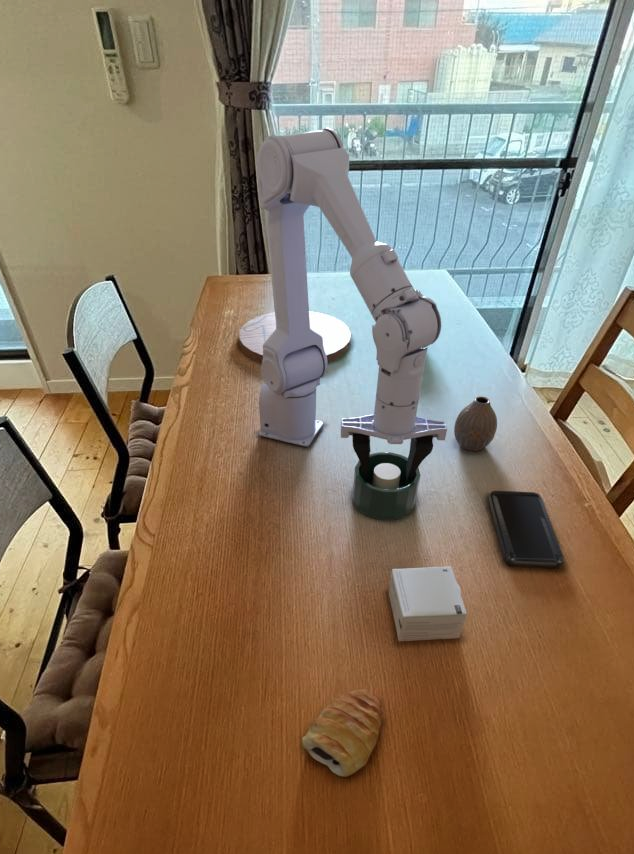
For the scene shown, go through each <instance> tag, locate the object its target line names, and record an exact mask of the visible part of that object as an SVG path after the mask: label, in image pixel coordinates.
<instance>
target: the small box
mask: <svg viewBox="0 0 634 854" xmlns="http://www.w3.org/2000/svg"><path fill="white" fill-rule="evenodd" d="M457 581H458V580H457V578H456V575H455V572H454V569H453V567H452V566H448V565H447V566H428V567H409V568H392V571H391V575H390V582H389V588H388V597H389V601H390V607H391V610H392V616H393V620H394V624H395V630H396V635H397V641H398V642H410V641H413V642H414V641H432V640H450V639H460V636H461V633H462V630H463V627H464V624H465V622H466V618H467V616H468V613H467V610H466V606H465V602H464V600H463V596H462V589H461V586H460V585H459V584H458V582H457Z"/></svg>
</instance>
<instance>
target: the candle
mask: <svg viewBox="0 0 634 854" xmlns="http://www.w3.org/2000/svg"><path fill="white" fill-rule="evenodd" d="M400 474H401V471H400V469H399V468H398V467H397V466H395V465H393V464H389V463H382V464H379V465H377V466H376V467H375V468H374V473H373V482H372V486H373V487H377V488H381V489H398V487H399V481H400Z"/></svg>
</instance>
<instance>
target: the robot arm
mask: <svg viewBox="0 0 634 854" xmlns="http://www.w3.org/2000/svg"><path fill="white" fill-rule="evenodd" d="M255 163H256V164H255V165H256V173H257V183H258V193H259V202H260V203H259V204H260V208H261V209H263V210H264V216H265V225H266V236H267V246H268V257H269V267H270V268H269V269H270V276H271V287H272V298H273V309H274V312H275V320H276V329H275V331H274V332H273V333H272V334H271V335H270V337H269V338H268V339H267V340H266V342H265V343H264V344H263V360H262V363H261V369H260V370H261V375H262V378H263V381H264V383H263V384H262V386H261V389H260V392H259V398H258V409H259V410H258V411H259V425H260V430H259V432H258V436H260V437H263V438H267V439H272V440H275V441H280V442H284V443H289V444H293V445H296V446H301V447H304V448H308V447H309V446H311V444H312V442H313V441H314V439H315V438H316V436H317V435H318V433H319V432H320V430H321V429H322V428H323V426H324V422H323V420H318V419H317V387H319V386H320V385H321V379H322V378H324V377H325V376H326V374H327V372H328V366H329V365H328V364H329V363H328V362H327V356H326V353H325V351H324V347H323V338H322V336H321V335H320V334H319V333H317V332H316V331H314V330H313V329H311V328H310V320H309V311H310V304H309V289H308V288H309V286H308V272H307V271H308V270H307V269H308V268H307V254H306V237H305V219H304V218H305V217H304V216H305V213H306V212H307V211H308V209H309V208H310V207H311V206H313V207H317V208H319V209H320V211H321V213H322V214H323V216H324V217H325V219H326V220H327V222H328V224H330V226H331V228H332V229H333V231H334V232H335V234H336V236H337V237H338V238H339V240H340V242H341V244H342V245H343V246H344V248H345V250H346V251H347V253H348V254H349V256H350V257H351V263H350V268H349V276H350V278H351V280H352V281H353V283H354V285H355V287H356V289H357V291H358V292H359V295H360V296H361V298H362V300H363V302H364V304H365V305H366V307H367V310H368V311H369V313H370V315H371V317H372V318H373V320H374V322H375V324H373V325H372V326H371V334H372V339H373V342H374V345H375V349H376V359H375V360H376V362H377V365H378V372H377V383H376V393H375V401H374V412H373V414H369V415H364V416H357V417H349V418H341V420H340V439H348V438H349V436H351V438H352V439H351V440H352V448H353V451H354V453H355V454H356V456H357V459H358V461H360V464H361V467H362V474H363V480H368V462H369V455H370V454H371V437H373V438H378V439H382V440H386V441H387V444H389V445H403V444H404V441H406V440H410V443H409V445H410V446H409V452H408V457H407V458H408V461H407V465H406V479H407V481H411V480H412V478H413V475H414V473H415V471H416V470H417V468H419V467H420V466H421V464H422V462H423V461H424V460H425V459H426V458H427V457H428V456H429V455H430V454H432V452H433V449H434V442H433V440H434V438H435V439H436V440H437V441H446V436H447V432H448V427H447V423H446V421H445V420H435V419H430V418H426V417H421V416H417V415H418V414H417V412H418V406H419V401H420V396H421V390H422V383H423V378H424V370H425V367H426V366H425V365H426V360H427V353H428V347H429V346H430V345H432V344H434V343H435V342H436V341H437V340H438V339H439V338H440V334H441V331H442V317H441V314H440V311H439V309H438V306H437V303H435V301H434V300H433V299H432V298H431V297H428V296H425V295H423V294H422V292H421V291H420V290H418V289H415V288H414V286H413V284H412V282H411V281H410V279H409V277H408V275H407V274H406V271H405V270H404V268H403V266H402V264H401V262H400V260H399V256H398V255H397V253H396V251H395V250H394V249H393V248H392V246H391V245H390V244H388V243H383V242H379V241H377V239H376V236H375V234H374V232H373V230H372V227H371V225H370V223H369V221H368V218H367V216H366V214H365V212H364V210H363V207H362V205H361V203H360V200H359V199H358V196H357V194H356V191H355V189H354V187H353V184H352V182H351V181H350V178H349V172H350V155H349V153H348V151H347V150H346V149H345V147H344V143H343V141H342V139H341V136H340V135H339V133H338V132H337V131H336V130H335V129H333V128H330V127H326V128H325V127H324V128H322V129H320V130H313V131H307V132H299V133H290V134H282V135H276V134H271V135H268V136H266V137H265V139H264V140H263V141H262V143H261V145H260V147H259V149H258V151H257V153H256V154H255Z"/></svg>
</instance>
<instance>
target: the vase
mask: <svg viewBox="0 0 634 854" xmlns="http://www.w3.org/2000/svg"><path fill="white" fill-rule="evenodd" d="M497 429H498V417H497V414H496V413H495V410H494V409H493V407H492V404H491V401H490V399H489V398H488V397H485V396H476V397H475V398H474V399H473V401H472V402H470V403H469V404H467V405H466V406H464V407H463V409H461V411H460V412H459V413H458V415H457V417H456V420H455V423H454V428H453V433H454V439H455V441H456V442H457V444H458V445H459V446H460V447H461V448H462V449H464V450H466V451H470V452H477V451H481V450H483V449H485V448H486V447H488V446H489V445H490V444H491V443H492V441H493V440H494V438H495V436H496V433H497Z"/></svg>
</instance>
